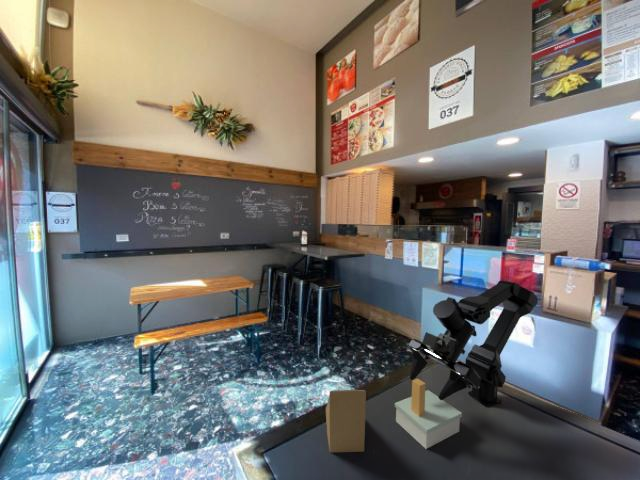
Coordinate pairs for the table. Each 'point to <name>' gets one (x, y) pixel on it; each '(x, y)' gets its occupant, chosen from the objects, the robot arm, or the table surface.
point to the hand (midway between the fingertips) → (424, 388)
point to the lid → (426, 408)
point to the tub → (431, 437)
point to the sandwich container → (346, 420)
